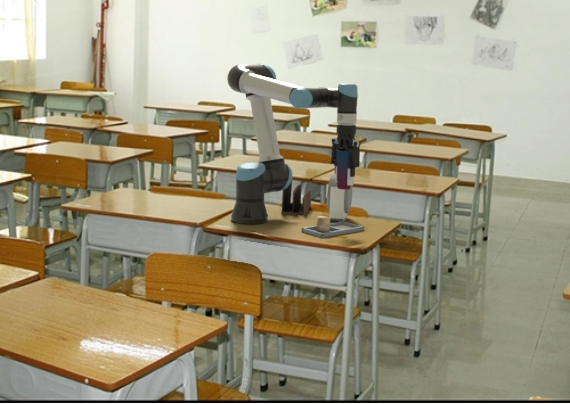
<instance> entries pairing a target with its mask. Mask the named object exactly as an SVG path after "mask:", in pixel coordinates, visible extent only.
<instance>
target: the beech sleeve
mask: <svg viewBox="0 0 570 404" xmlns="http://www.w3.org/2000/svg"><path fill="white" fill-rule="evenodd" d="M330 223H331V218H330V217H329V216H326V215H325V216H324V215H322V216H321V215H320V216H319V215H318V216H316V226H317V229H316V231H317V232H320V233H326V232H330Z"/></svg>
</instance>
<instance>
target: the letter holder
mask: <svg viewBox="0 0 570 404" xmlns="http://www.w3.org/2000/svg"><path fill="white" fill-rule="evenodd" d="M292 185H293V180H292V181H291V183H290V185H289V186H288V187H287V188H286V189H284V190H282V198H281V213H280V214H281V215H289V216H302V215H304V214H305V215H306V213H307V212H308V211H309V210H310V208H311V205H312V204H311V201H312V200H311V199H312V198H311V195H312V193H311V190H310V189H309V190H307V191H306V192H305V194H304V195H303V197H302V184H300V183H299V184H298V185H296V186H295V188H294V189H293V188H292V187H293V186H292ZM292 189H293V192H292ZM291 200H292V202H291ZM301 200H302V201H301ZM301 202H302V203H301ZM305 215H304V216H305Z"/></svg>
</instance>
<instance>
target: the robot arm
mask: <svg viewBox="0 0 570 404" xmlns="http://www.w3.org/2000/svg"><path fill="white" fill-rule="evenodd" d="M226 78H227V84H228V86H229V87H230V89H232V91H235V92H236V93H241V94H245V99H246V100H247V101H249V102H250V107H251V114H252V119H253V126H254V130H255V131H254V132H255V138H256V143H257V149H258V150H257V151H258V155H259V159H258V160H257V162H246V163H242V164H240V165H238V167H237V168H236V173H235V174H236V175H235V203H234V207H233V209H232V212H231V214H230V215H231V216H230V221H231V222H234V223H237V224H241V225H242V224H244V225H256V224H257V225H260V224H265V223H267V222H268V220H269V215H268V211H267V208H266V204H265V194H269V193H276V192H277V193H278V192H281V191H283V190H284V189H286V188H287V187H288V186H289V185H290V183H291V181H292V182H293V170H292V168H291V166H290V165H289V164H288V163H286V162H285V157H284V156H282V155H281V154H280V148H279V142H278V136H277V129H276V124H275V118H274V112H273V106H272V100H275V101H277V102H278V101H279V102H283V103H285V104H289V105H292V106H293V107H292V108H295V109H300V110H304V109H316V108H317V109H318V108H319V109H321V108H331V109H332V108H333V109H336V112H337V113H336V114H337V115H336V123H337V124H336V135H337V137H336V138H331V145H332V146H331V156H330V157H331V158H330V163H331V164H332V165H333V166H334V175H335V183H337V149H338V151H344V150H346V151H353V153H352V154H350V153H349V160H348V162H349V167H348V178H347V185H354V184H355V182H354V181H355V177H356V169H357V168H359V167H360V162H361V161H360V160H361V159H360V152H361V151H360V148H361V141H357V140H356V139H355V136H356V134H357V122H358V121H357V117H358V115H357V114H358V113H357V108H358V97H359V94H358V86H357V84H356V83H338V85H337V86H338V87H337V88H332V87H325V86H320V87H314V88H313V87H304V86H300V85H296V84H293V83H289V82H285V81H281V80H277V75H276V72H275V71H274V69H273V67H271V66H269V65H267V64H262V63H249V64H248V63H240V64H236V65H234V66H233V67H231V69H230V70H229V71H228V74H227V77H226ZM271 99H272V100H271ZM352 164H353V165H352Z"/></svg>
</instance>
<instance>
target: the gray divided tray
mask: <svg viewBox="0 0 570 404" xmlns="http://www.w3.org/2000/svg"><path fill="white" fill-rule="evenodd" d="M364 228H365V227H364V226H363V225H358V224H355V223H351V222H349V221H345V222H344V221H341V222H339V221H335V222H330V232H326V233H320V232H317V231H316V229H317V225H312V226H311V225H310V226H306V227H301V233H305V234H308V235H311V236H314V237H318V238H321V239H324V238H328V237H334V236H335V237H337V236H339V235H345V234H352V233H357V232H362V231H363V232H364V230H365V229H364Z"/></svg>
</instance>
